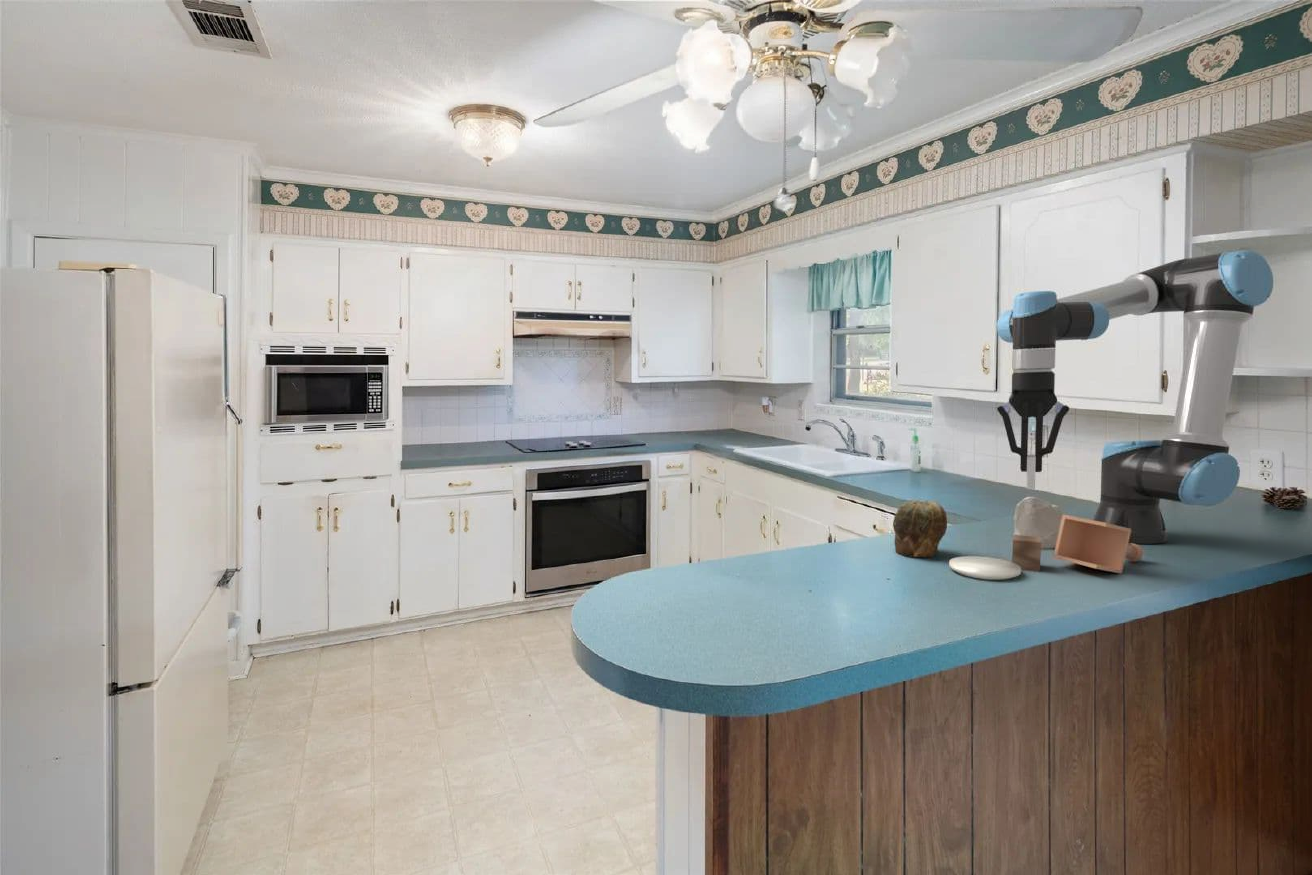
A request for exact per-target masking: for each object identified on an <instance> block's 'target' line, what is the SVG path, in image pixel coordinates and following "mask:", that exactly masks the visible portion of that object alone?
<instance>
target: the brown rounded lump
mask: <svg viewBox="0 0 1312 875" xmlns="http://www.w3.org/2000/svg"><path fill="white" fill-rule="evenodd" d="M947 519H948V518H947V513H946V511H945V508H944V507H943V506H942V505H941V504H940V503H938V502H937V501H932V500H930V501H929V500H924V501H921V500H919V499H916V500H914V499H913V500H908V501H905V502H903V503H901V505H900V506H899V507H898V509H897V512H895V515H894V517H893V520H892V521H893V523H892V527H893V532H894V550H895V551H894V552H895V553H897V554H899V555H902V556H904V557H909V558H933V557H934V556H936V554H937V553H938V549H939V548H938V547H939V544H940V542H941V540H942V538H943V537H944V536H945V535H946V531H947V529H948V520H947Z"/></svg>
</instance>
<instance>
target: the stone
mask: <svg viewBox="0 0 1312 875" xmlns="http://www.w3.org/2000/svg"><path fill="white" fill-rule="evenodd" d="M1014 512H1015V513H1014V515H1013V516H1014V517H1013V522H1014V524H1013V525H1014V533H1013V535H1023V536H1034V537H1041V550H1043V549H1044V550H1045V549H1055V547H1056V542H1057V538H1058V533H1059V528H1060V524H1061V519H1062V515H1064V513H1063V510H1062V509H1061V507H1060V505H1056V504H1051V502H1049V501H1047V500H1043V499H1041V498H1038V497H1035V496H1027V497H1024V498H1023V499H1022V500H1020V501H1019V502H1018V503H1017V504H1016V507H1015V511H1014Z"/></svg>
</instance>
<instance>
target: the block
mask: <svg viewBox="0 0 1312 875" xmlns="http://www.w3.org/2000/svg"><path fill="white" fill-rule="evenodd" d="M1041 553H1042V549H1041V537H1034V536H1023V535H1014V534H1012V553H1011V554H1012V555H1011V556H1012V557H1011V560H1012V561H1011V562H1013V563H1015V564H1017V565H1019V566H1020V567H1021V571H1028V572H1029V571H1031V572H1041V556H1042V554H1041Z"/></svg>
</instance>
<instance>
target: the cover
mask: <svg viewBox="0 0 1312 875" xmlns="http://www.w3.org/2000/svg"><path fill="white" fill-rule="evenodd" d="M1130 533H1131V529H1129V528H1125V527H1121V526H1117V525H1113V524H1108V523H1104V522H1099V521H1094V520H1093V519H1089V518H1083V517H1079V516H1078V517H1077V516H1073V515H1069V514H1063V515H1062V519H1061V524H1060V528H1059V533H1058V538H1057V542H1056V547H1055V548H1054V551H1053V552H1054V553H1053V559H1058V560H1062V561H1066V562H1068V563H1069V562H1070V563H1073V564H1077V565H1081V566H1085V567H1088V568H1092V569H1095V570H1096V569H1097V570H1101V571H1106V572H1111V573H1117V574H1122V573H1123V570H1124V564H1125V561H1126V560H1127V561H1128V562H1132V563H1135V562H1139V561H1141V560H1142V559H1143V557H1144V555H1145V552H1144V549H1143V548H1142V547H1141V545H1139V544H1138V543H1128V542H1129V538H1130Z"/></svg>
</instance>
